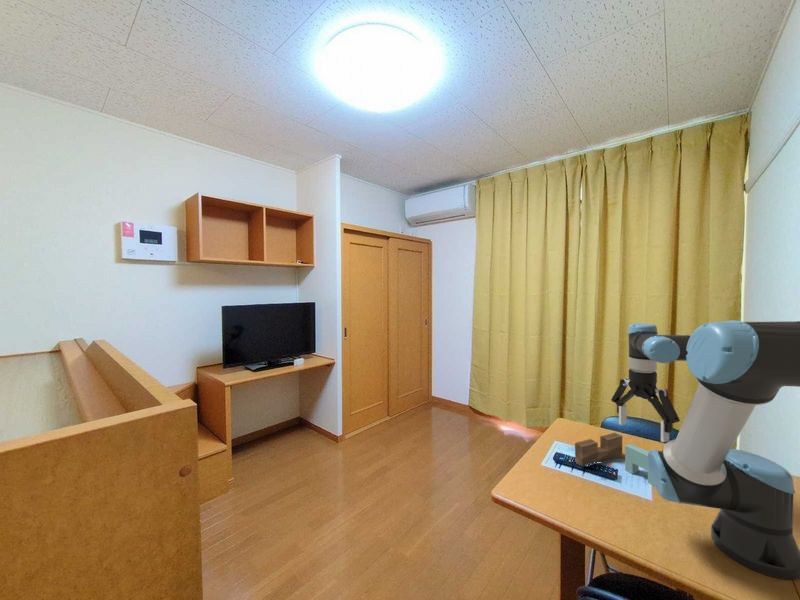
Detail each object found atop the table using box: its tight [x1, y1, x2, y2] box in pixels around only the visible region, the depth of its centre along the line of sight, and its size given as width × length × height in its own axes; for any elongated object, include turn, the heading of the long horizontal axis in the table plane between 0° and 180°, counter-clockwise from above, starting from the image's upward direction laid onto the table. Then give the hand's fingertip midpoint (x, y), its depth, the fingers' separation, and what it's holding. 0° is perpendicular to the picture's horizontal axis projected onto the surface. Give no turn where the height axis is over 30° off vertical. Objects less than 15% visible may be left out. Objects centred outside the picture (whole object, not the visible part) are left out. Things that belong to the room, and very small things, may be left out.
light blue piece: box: [624, 443, 655, 487], centre depth 108 cm, size 10×3×9 cm, turn 19°
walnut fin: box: [574, 432, 623, 466], centre depth 119 cm, size 3×20×8 cm, turn 109°
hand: (642, 432), depth 107 cm, fingers open, 13 cm apart
